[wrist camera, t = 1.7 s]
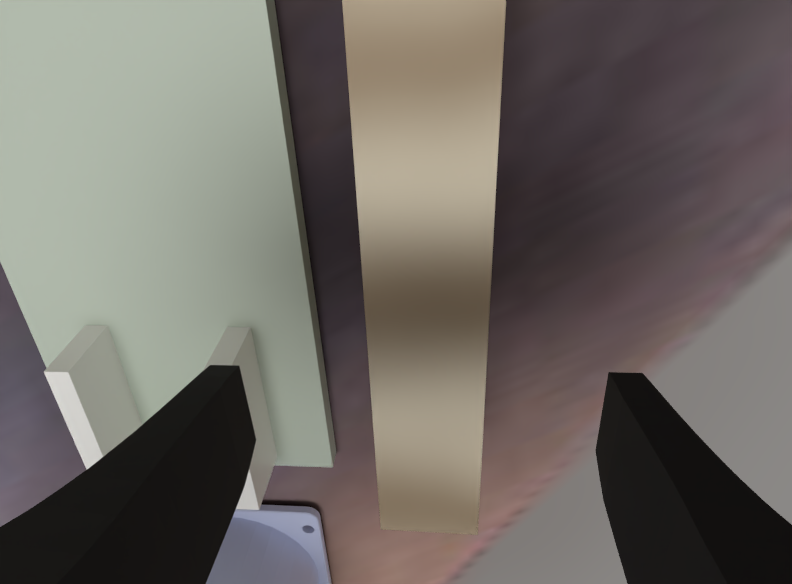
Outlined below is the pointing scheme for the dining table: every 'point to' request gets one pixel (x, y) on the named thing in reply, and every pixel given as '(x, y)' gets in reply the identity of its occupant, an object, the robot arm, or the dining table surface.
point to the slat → (426, 243)
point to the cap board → (161, 197)
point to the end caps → (116, 411)
